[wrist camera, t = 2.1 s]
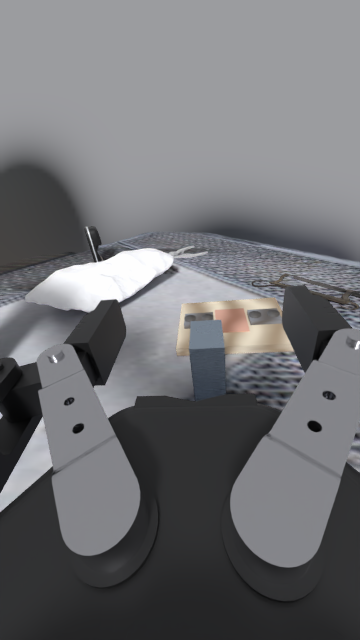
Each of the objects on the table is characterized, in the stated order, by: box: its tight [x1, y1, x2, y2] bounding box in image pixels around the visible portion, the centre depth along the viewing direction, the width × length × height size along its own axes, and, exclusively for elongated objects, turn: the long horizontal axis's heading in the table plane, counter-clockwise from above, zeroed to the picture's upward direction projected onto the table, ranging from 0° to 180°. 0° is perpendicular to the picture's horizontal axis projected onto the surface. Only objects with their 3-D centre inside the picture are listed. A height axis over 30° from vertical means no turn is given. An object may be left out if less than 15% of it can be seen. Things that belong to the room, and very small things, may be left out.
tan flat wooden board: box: [176, 298, 294, 356], centre depth 43 cm, size 18×14×2 cm
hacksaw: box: [252, 274, 360, 310], centre depth 51 cm, size 24×10×2 cm, turn 35°
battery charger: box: [84, 226, 104, 263], centre depth 81 cm, size 7×4×11 cm, turn 22°
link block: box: [189, 320, 226, 401], centre depth 29 cm, size 4×5×10 cm
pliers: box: [169, 246, 208, 259], centre depth 80 cm, size 10×2×15 cm
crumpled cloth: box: [25, 248, 174, 313], centre depth 60 cm, size 24×35×9 cm
